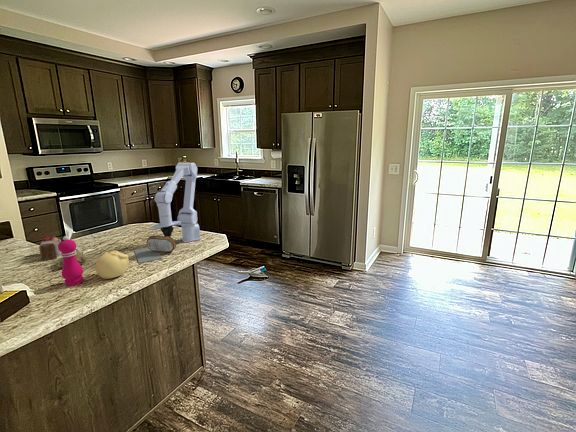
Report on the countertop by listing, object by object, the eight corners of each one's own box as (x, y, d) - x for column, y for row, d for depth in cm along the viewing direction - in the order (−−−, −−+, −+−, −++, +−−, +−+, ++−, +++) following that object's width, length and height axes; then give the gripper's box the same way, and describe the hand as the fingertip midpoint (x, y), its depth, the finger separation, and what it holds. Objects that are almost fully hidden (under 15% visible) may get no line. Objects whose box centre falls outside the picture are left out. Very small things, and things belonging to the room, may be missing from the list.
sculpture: (135, 271, 134) (131, 248, 132) (111, 283, 123) (107, 258, 121) (115, 268, 138) (111, 245, 135) (91, 279, 127) (86, 255, 124)
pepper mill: (70, 279, 128) (61, 233, 123) (88, 278, 128) (80, 233, 123) (59, 287, 121) (49, 239, 116) (78, 286, 121) (69, 238, 116)
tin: (177, 250, 158) (175, 236, 155) (174, 253, 155) (172, 238, 152) (150, 248, 159) (147, 234, 156) (146, 251, 156) (144, 237, 153)
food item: (44, 252, 158) (40, 234, 155) (63, 249, 162) (59, 232, 159) (40, 261, 146) (36, 242, 144) (60, 258, 150) (56, 239, 148)
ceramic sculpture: (85, 239, 150) (82, 250, 138) (88, 255, 153) (85, 268, 140) (59, 243, 146) (53, 255, 133) (63, 259, 148) (57, 273, 136)
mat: (155, 246, 165) (155, 246, 165) (162, 258, 148) (162, 258, 148) (134, 250, 159) (134, 250, 159) (138, 263, 143) (138, 262, 143)
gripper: (175, 211, 162) (178, 235, 165) (147, 216, 152) (151, 242, 156) (181, 213, 157) (184, 238, 160) (153, 219, 147) (156, 245, 151)
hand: (168, 240), depth 158 cm, fingers closed
